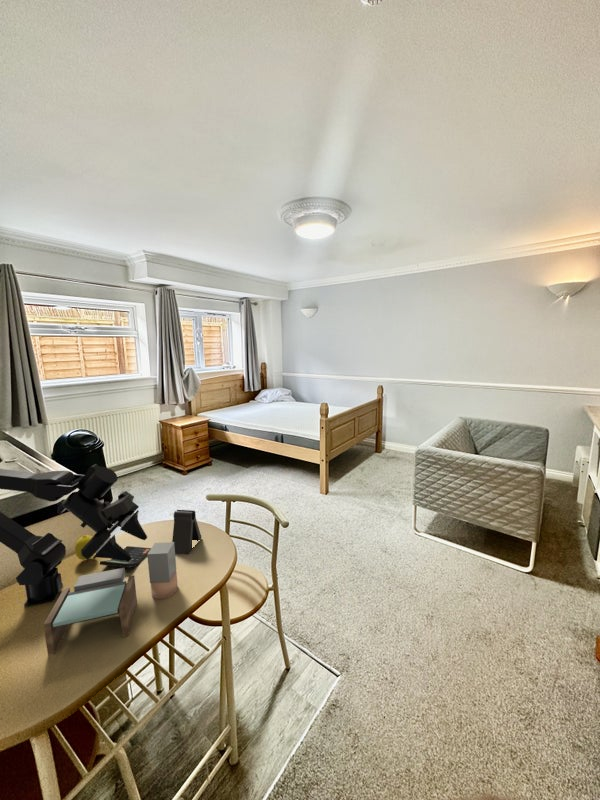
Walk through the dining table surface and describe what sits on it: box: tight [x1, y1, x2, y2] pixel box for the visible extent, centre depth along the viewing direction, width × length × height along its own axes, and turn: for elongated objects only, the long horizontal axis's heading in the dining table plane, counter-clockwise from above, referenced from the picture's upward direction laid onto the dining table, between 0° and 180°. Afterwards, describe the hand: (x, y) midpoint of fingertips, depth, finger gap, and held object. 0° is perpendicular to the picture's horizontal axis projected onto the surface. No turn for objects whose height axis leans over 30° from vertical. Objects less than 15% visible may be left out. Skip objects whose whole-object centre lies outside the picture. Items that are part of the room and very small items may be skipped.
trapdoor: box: [53, 567, 127, 627], centre depth 77 cm, size 12×14×2 cm
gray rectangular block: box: [146, 541, 177, 584], centre depth 87 cm, size 5×5×8 cm
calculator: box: [99, 545, 152, 568], centre depth 102 cm, size 9×12×3 cm
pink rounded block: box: [150, 570, 179, 600], centre depth 88 cm, size 6×6×4 cm
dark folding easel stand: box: [171, 509, 203, 555], centre depth 108 cm, size 9×6×12 cm, turn 171°
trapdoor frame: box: [43, 574, 138, 656], centre depth 77 cm, size 15×11×7 cm
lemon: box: [74, 534, 96, 561], centre depth 102 cm, size 6×6×8 cm
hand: (138, 548), depth 86 cm, fingers open, 9 cm apart
